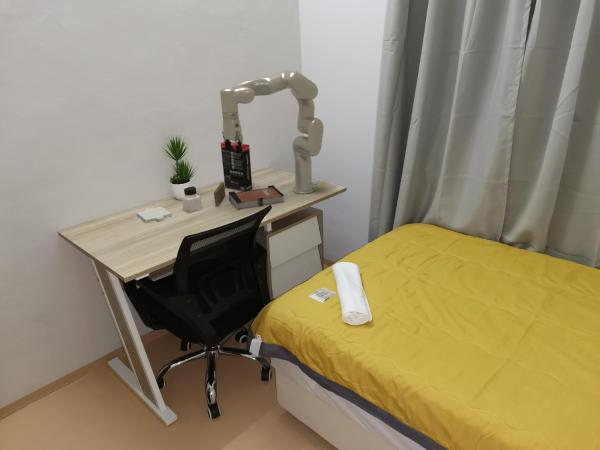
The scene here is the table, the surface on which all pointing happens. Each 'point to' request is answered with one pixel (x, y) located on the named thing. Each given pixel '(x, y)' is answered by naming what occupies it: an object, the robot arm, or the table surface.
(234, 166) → the graphics card box
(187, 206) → the medicine bottle
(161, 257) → the table surface
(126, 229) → the table surface
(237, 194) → the book
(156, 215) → the mounting plate
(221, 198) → the walnut board
